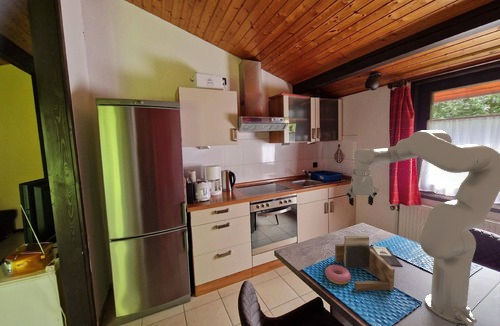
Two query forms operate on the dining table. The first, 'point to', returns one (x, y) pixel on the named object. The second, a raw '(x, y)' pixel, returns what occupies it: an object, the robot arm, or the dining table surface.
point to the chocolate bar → (386, 255)
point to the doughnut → (338, 274)
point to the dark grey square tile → (357, 256)
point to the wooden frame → (375, 264)
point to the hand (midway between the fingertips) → (360, 204)
